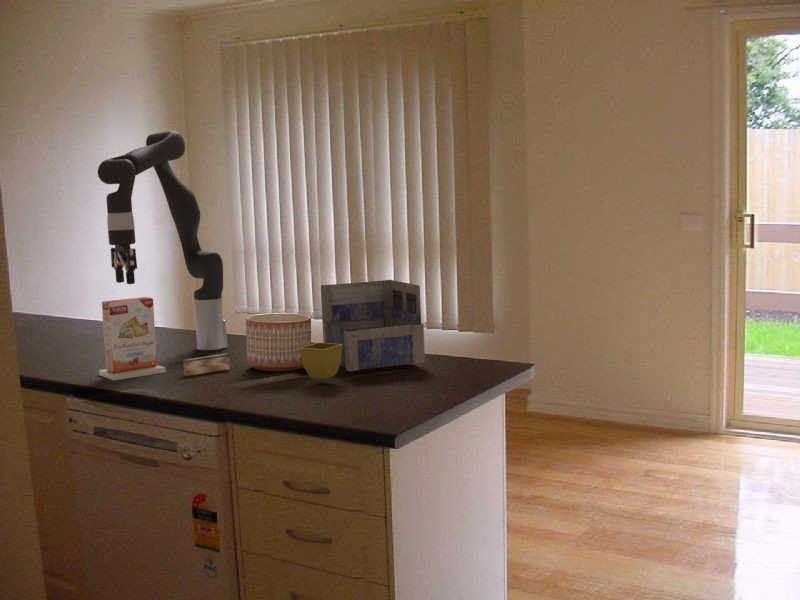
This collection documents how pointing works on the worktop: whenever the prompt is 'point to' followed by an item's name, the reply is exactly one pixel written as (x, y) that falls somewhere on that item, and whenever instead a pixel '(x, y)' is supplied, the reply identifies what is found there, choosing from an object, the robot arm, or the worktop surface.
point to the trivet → (132, 372)
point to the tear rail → (206, 364)
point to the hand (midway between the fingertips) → (125, 283)
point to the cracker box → (129, 334)
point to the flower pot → (321, 359)
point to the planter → (277, 340)
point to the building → (374, 323)
